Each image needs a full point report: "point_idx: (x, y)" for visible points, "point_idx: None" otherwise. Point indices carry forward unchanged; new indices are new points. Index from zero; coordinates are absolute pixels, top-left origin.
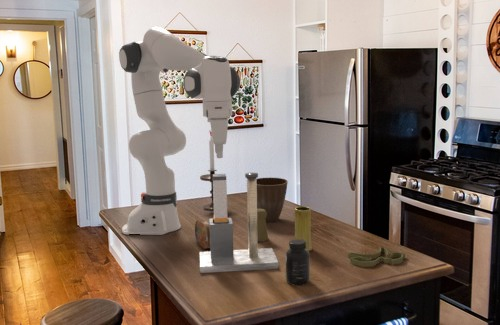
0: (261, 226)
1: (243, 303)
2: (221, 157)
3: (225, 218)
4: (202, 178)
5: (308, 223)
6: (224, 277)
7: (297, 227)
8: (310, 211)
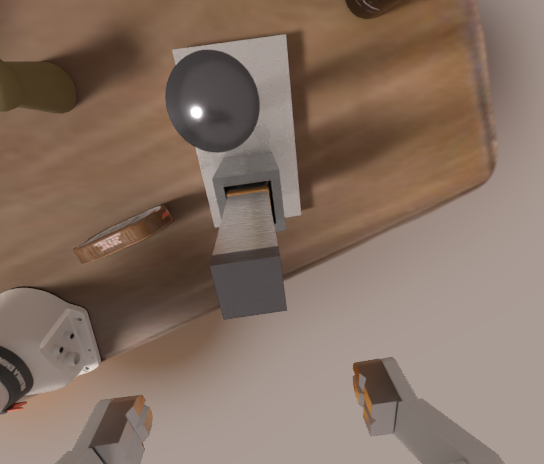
0: (38, 79)
1: (450, 120)
2: (391, 363)
3: (268, 194)
4: None
5: None
6: (325, 164)
7: None
8: None
